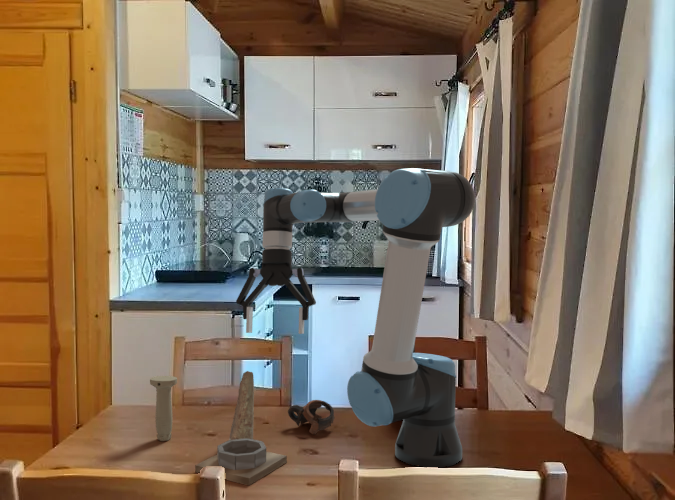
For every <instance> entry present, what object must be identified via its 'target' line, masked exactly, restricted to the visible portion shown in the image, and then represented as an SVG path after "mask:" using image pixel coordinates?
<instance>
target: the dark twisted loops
mask: <svg viewBox="0 0 675 500" xmlns="http://www.w3.org/2000/svg"><path fill="white" fill-rule="evenodd" d="M322 407H324V408H325V410H327V411H328V412H329V413H330V414H329V416H327V417H325V418H323V416H322V415H321V414H318V413H316V412H317V410H318V409H320V408H322ZM287 414H288V416H289V418H290V419H291V420H292V421H293V422H295V424H296V425H297V427H298V426H303V425H304V424H305V423H309V424H311V425H310V429H308V430H309V433H311V434H312V435H316V434H317V433H318V432H320V431H323V430H325V429H328V428H329V427H331V425H332V424H333V423H334V420H335V414H334V408H333V406H332V405H331V404H330V403H328V402H326V401H324V400H320V399H312V400H310V401H309V402H307V403H306V405H305V404H304V406H300V405H299V404H293V405H291V406H289V408H288V410H287Z"/></svg>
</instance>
